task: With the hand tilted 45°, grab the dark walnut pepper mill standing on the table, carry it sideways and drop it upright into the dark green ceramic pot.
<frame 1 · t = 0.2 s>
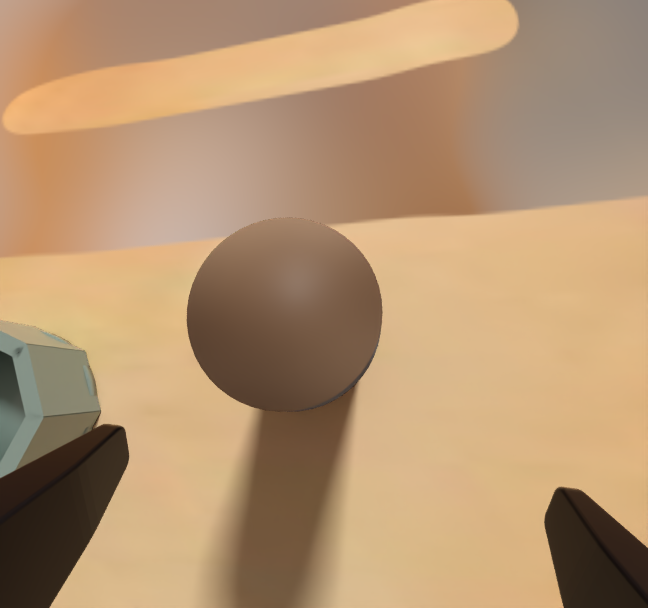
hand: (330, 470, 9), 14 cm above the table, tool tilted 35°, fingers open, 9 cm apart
pot: (21, 408, 24), on the table
pepper mill: (317, 350, 23), on the table
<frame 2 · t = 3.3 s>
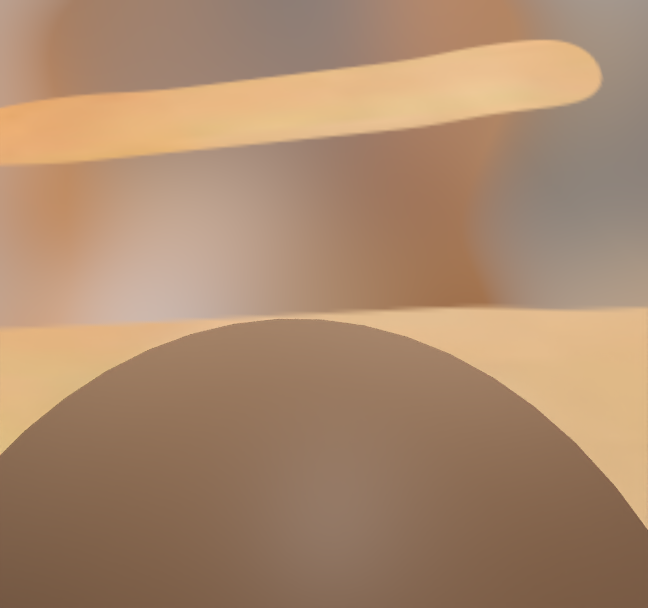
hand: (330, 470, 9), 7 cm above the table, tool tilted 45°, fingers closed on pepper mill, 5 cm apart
pepper mill: (328, 512, 14), on the table, touching gripper
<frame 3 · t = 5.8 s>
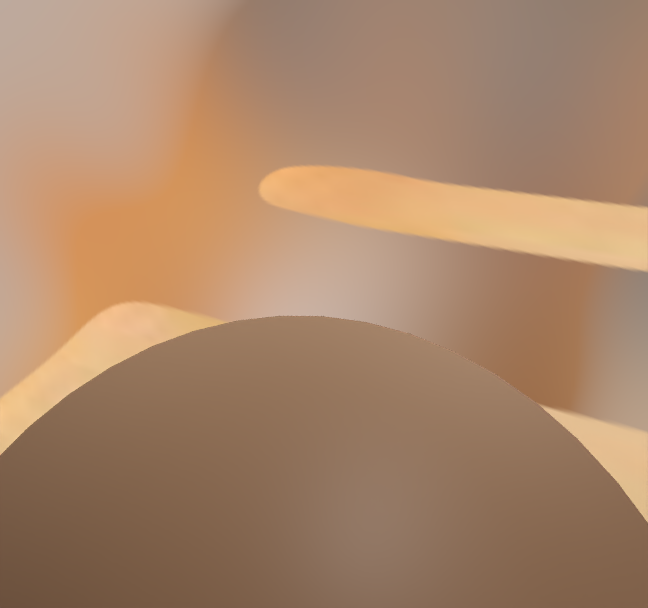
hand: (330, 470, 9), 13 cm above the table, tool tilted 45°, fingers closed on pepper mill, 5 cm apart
pepper mill: (329, 511, 14), point 7 cm above the table, touching gripper
when the fingers open (9 cm above the table, at t = 8.3 s): pepper mill drops 2 cm, resting on pot.
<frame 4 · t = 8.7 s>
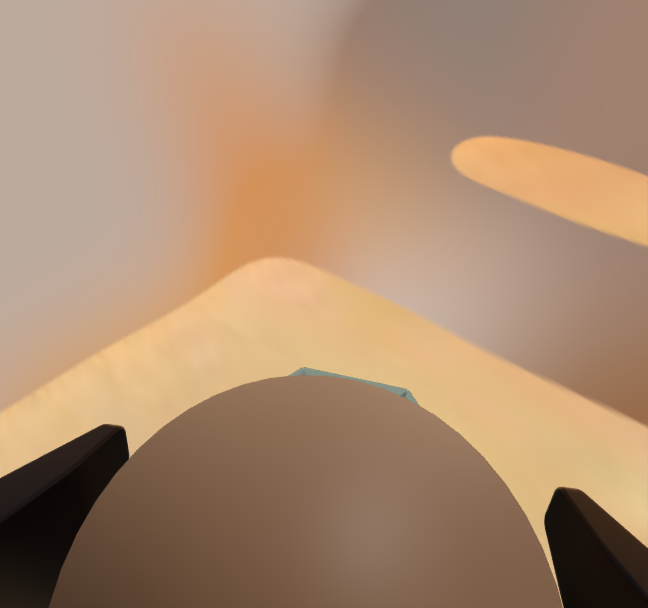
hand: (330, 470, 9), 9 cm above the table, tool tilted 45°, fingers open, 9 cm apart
pot: (329, 505, 17), on the table
pepper mill: (327, 508, 16), point 1 cm above the table, touching pot
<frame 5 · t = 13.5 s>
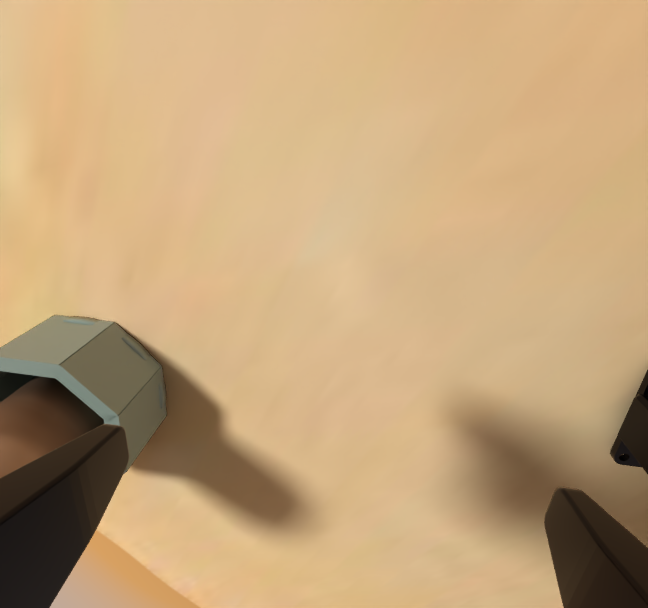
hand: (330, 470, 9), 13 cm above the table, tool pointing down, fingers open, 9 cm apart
pot: (95, 382, 25), on the table
pepper mill: (91, 389, 25), point 1 cm above the table, touching pot
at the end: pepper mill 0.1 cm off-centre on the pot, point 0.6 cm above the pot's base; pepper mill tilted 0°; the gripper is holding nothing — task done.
